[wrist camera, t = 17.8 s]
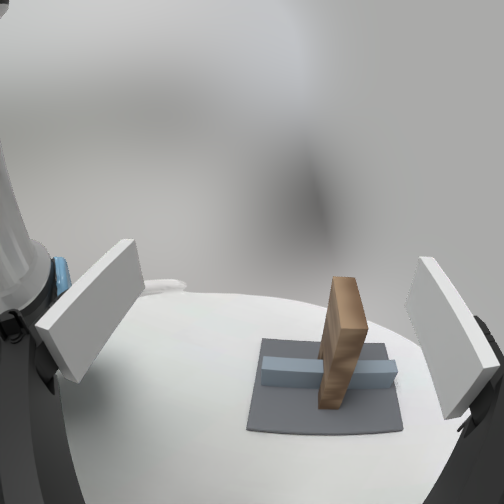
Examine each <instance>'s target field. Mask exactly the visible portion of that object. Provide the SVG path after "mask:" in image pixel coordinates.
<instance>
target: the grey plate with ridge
mask: <svg viewBox="0 0 504 504" xmlns="http://www.w3.org/2000/svg"><path fill="white" fill-rule="evenodd" d="M320 344H321V342H311V341H293V340H278V339H266V338H262V343H261V349H260V355H259V361H258V367H257V372H256V378H255V384H254V389H253V395H252V400H251V406H250V411H249V416H248V422H247V427H246V430H252V431H262V432H273V433H287V434H309V435H347V434H369V433H383V432H394V431H402V430H403V424H402V418H401V413H400V408H399V403H398V398H397V393H396V389H395V384H394V379H395V377H396V375H397V373H398V370H397V366H396V362H395V360H389V359H388V355H387V351H386V347H385V343H364V344H363V347H362V350H361V353H360V356H359V359H358V361H357V364H356V367H355V370H354V372H353V375H352V378H351V380H350V383H349V386H348V388H347V391H346V393H345V396H344V398H343V400H342V403H341V405H340V408H339V410H330V409H318V392H319V388H320V385H321V381H322V377H323V374H324V369H323V360H318V359H317V358H318V354H319V349H320Z"/></svg>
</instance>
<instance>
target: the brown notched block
mask: <svg viewBox="0 0 504 504" xmlns="http://www.w3.org/2000/svg"><path fill="white" fill-rule="evenodd" d="M367 332H368V325H367V321H366V317H365V313H364V310H363V305H362V302H361V298H360V294H359V291H358V287H357V283H356V280H355V278H352V277H334V276H333V279H332V285H331V291H330V298H329V303H328V309H327V314H326V319H325V325H324V330H323V335H322V340H321V344H320V349H319V354H318V358H317V359H318V360H323V369H324V374H323V377H322V381H321V385H320V388H319V392H318V409H330V410H339V408H340V405H341V403H342V400H343V398H344V396H345V393H346V391H347V388H348V386H349V383H350V380H351V378H352V375H353V372H354V370H355V367H356V364H357V361H358V359H359V356H360V353H361V350H362V347H363V344H364V341H365V338H366V335H367Z"/></svg>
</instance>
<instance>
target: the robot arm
mask: <svg viewBox="0 0 504 504" xmlns="http://www.w3.org/2000/svg"><path fill="white" fill-rule="evenodd" d="M8 5H9V0H0V19H1V17H2V16H3V15H4V14H5V12H6V11H7V10H8ZM144 289H145V285H144V280H143V276H142V272H141V268H140V263H139V257H138V253H137V248H136V243H135V240H132V239H121V240H120V241H119V242H118V243H117V244H116V245H115V246H114V247H112V248H111V249H110V250H109V251H108V252H107V253H106V254H105V255H104V256H103V257H102V258H101V259H99V260H98V261H97V262H96V263H95V264H94V265H93V266H92V267H91V268H90V269H89V270H88V271H87V272H86V273H85V274H84V275H83V276H82V277H81V278H80V279H79V280H77V281H76V282H75V283H74V284H73V285H72V284H71V280H70V274H69V270H68V266H67V262H66V260H65V259H64V258H63V257H53V259H51V258H50V256H49V253H48V251H47V249H46V248H45V246H44V245H42V244H41V243H40V242H38V241H36V240H33V239H30V238H29V235H28V232H27V230H26V227H25V225H24V222H23V219H22V217H21V214H20V211H19V208H18V205H17V202H16V199H15V195H14V192H13V189H12V185H11V182H10V178H9V175H8V171H7V168H6V164H5V159H4V155H3V151H2V146H1V141H0V504H85V502H84V499H83V496H82V493H81V490H80V486H79V483H78V480H77V476H76V473H75V469H74V466H73V462H72V458H71V454H70V449H69V445H68V440H67V435H66V430H65V425H64V419H63V413H62V407H61V400H60V392H59V384H58V378H57V376H56V374H55V373H56V371H57V370H58V368H59V370H60V371H61V373H62V374H63V376H64V378H65V379H68V380H70V381H73V382H75V383H78V384H79V383H80V381H81V380H82V378H83V377H84V375H85V373H86V372H87V370H88V369H89V367H90V366H91V364H92V363H93V361H94V360H95V358H96V357H97V355H98V354H99V352H100V351H101V349H102V348H103V346H104V345H105V343H106V342H107V340H108V339H109V338H110V336H111V335H112V333H113V332H114V330H115V329H116V327H117V326H118V325H119V323H120V322H121V320H122V319H123V318H124V316H125V315H126V313H127V312H128V311H129V309H130V308H131V306H132V305H133V304H134V302H135V301H136V299H137V298H138V297H139V295H140V294H141V293H142V291H143V290H144ZM405 308H406V310H407V313H408V315H409V318H410V320H411V323H412V325H413V328H414V330H415V333H416V335H417V338H418V341H419V343H420V346H421V349H422V351H423V354H424V357H425V360H426V363H427V366H428V368H429V371H430V374H431V377H432V380H433V384H434V387H435V390H436V393H437V396H438V400H439V403H440V407H441V410H442V414H443V417H444V420H447V419H452V418H457V417H461V416H462V415H463V413H464V412H465V411H466V410H467V409H468V408H470V411H471V415H470V416H469V417H468V418H467V420H466V421H465V422H464V423H463V424H462V425H461V426H460V427H459V428H458V430H457V432H459V431H460V430H461V429H462V428H463V430H462V433H461V435H460V437H459V439H458V441H457V444H456V446H455V448H454V450H453V452H452V454H451V456H450V458H449V460H448V462H447V464H446V465H445V467H444V469H443V471H442V473H441V475H440V476H439V478H438V480H437V481H436V483H435V485H434V486H433V488H432V490H431V491H430V493H429V495H428V496H427V498H426V499H425V501H424V502H423V504H504V356H503V354H502V352H501V350H500V348H499V347H498V345H497V343H496V342H495V340H494V338H493V336H492V335H491V334H490V331H489V329H488V328H487V326H486V324H485V323H484V322H483V321H482V320H481V319H480V318H479V317H477V316H473V315H472V314H471V312H470V311H469V309H468V307H467V306H466V304H465V303H464V301H463V300H462V298H461V296H460V295H459V293H458V292H457V290H456V289H455V287H454V286H453V284H452V283H451V281H450V280H449V279H448V277H447V276H446V274H445V273H444V271H443V270H442V269H441V267H440V266H439V264H438V263H437V262H436V260H435V259H434V258H433V257H419V260H418V264H417V267H416V271H415V274H414V278H413V281H412V284H411V288H410V291H409V294H408V297H407V300H406V303H405Z"/></svg>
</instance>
